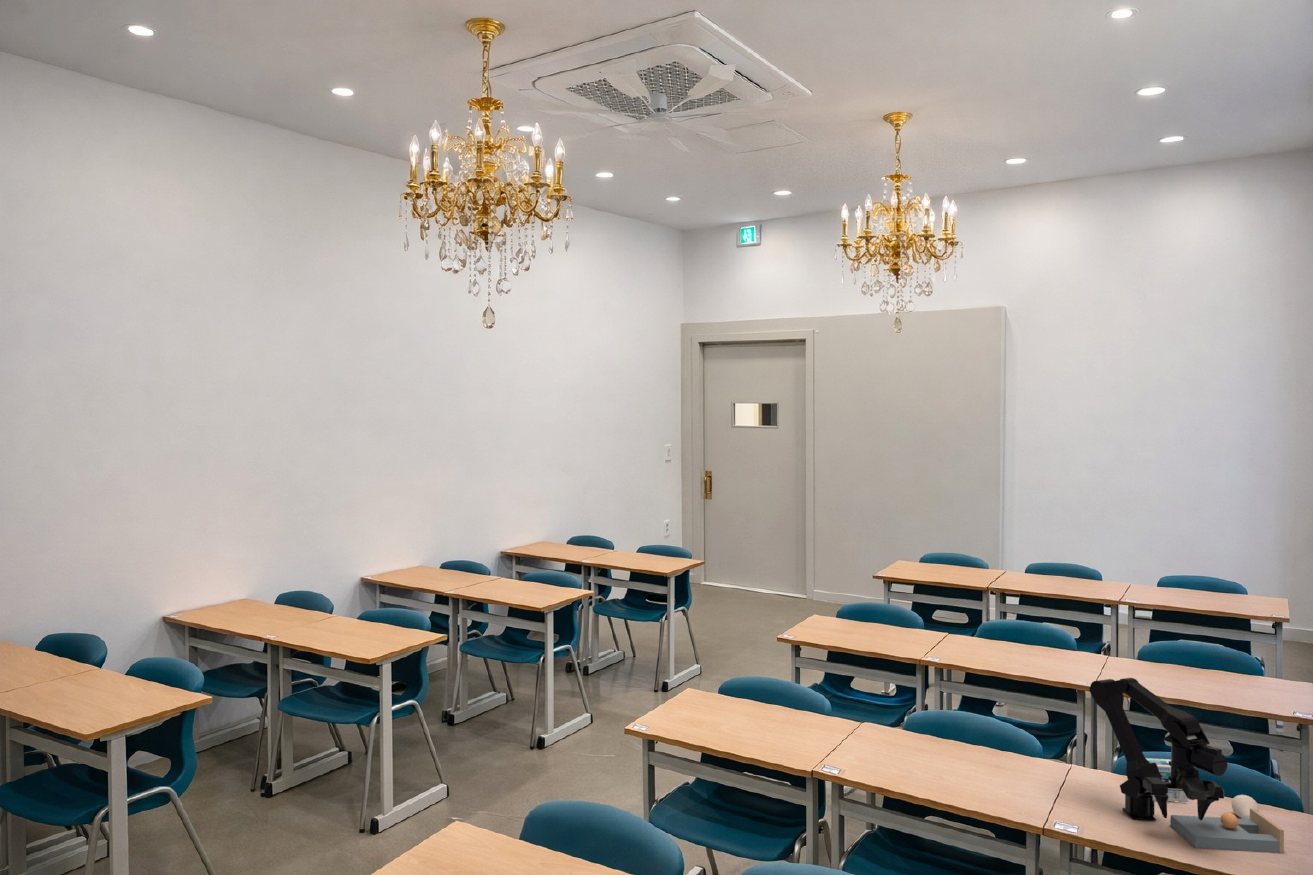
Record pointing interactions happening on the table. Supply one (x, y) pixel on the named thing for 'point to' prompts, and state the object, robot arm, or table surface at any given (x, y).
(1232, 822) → the ball
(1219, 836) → the notched base with backboard
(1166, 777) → the light bulb box
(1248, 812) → the light bulb
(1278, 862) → the table surface
